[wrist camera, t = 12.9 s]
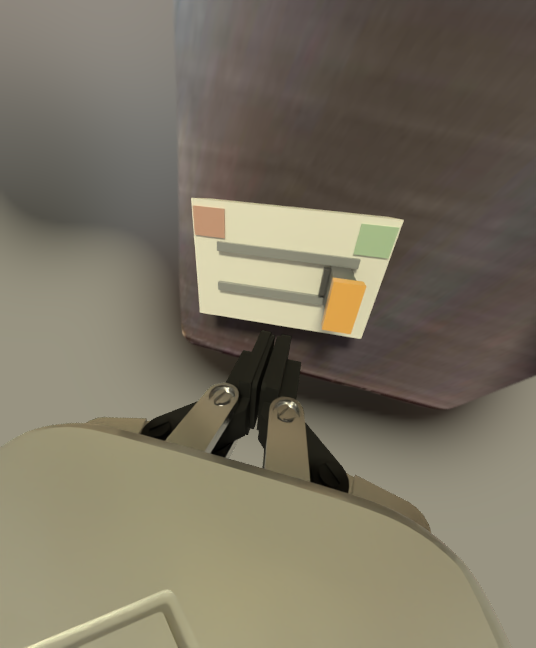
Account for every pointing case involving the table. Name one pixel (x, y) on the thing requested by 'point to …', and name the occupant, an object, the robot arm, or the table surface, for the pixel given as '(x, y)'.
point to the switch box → (285, 260)
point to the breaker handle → (340, 299)
